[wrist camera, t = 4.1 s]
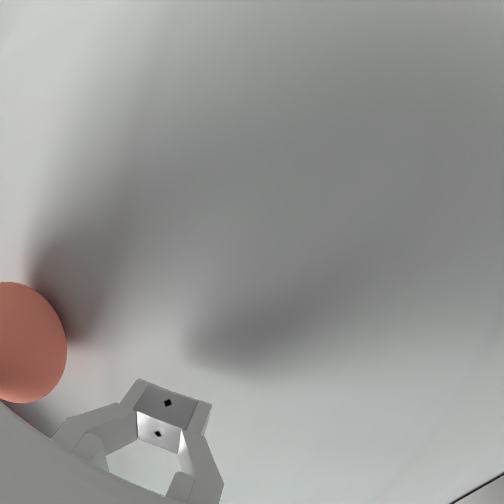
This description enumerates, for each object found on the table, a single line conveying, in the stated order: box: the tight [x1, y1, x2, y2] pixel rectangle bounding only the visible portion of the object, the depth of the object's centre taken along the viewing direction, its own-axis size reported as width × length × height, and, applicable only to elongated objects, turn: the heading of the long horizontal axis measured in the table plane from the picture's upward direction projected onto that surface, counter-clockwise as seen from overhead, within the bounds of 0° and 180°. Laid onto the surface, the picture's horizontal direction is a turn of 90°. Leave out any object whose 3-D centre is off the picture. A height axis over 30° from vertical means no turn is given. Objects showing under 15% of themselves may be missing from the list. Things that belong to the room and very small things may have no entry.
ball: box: [0, 282, 67, 403], centre depth 10 cm, size 6×6×6 cm
